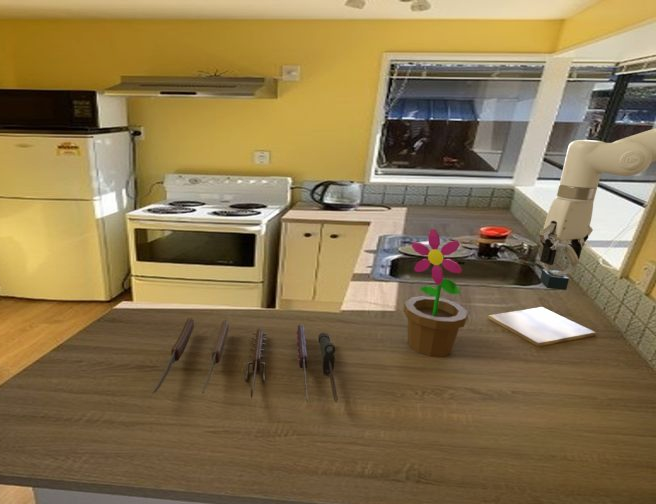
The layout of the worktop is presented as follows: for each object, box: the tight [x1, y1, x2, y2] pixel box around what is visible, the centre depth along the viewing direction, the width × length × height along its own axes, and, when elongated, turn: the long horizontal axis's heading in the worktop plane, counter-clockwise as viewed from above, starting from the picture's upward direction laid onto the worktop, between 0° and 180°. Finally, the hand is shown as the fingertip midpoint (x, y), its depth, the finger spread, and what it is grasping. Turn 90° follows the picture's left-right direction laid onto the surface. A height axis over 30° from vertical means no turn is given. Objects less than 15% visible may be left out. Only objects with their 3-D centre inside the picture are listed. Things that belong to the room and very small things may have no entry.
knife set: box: [151, 317, 339, 404], centre depth 90 cm, size 35×33×8 cm
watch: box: [539, 242, 580, 291], centre depth 108 cm, size 6×8×11 cm
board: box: [487, 306, 597, 347], centre depth 115 cm, size 20×16×1 cm
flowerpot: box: [403, 228, 469, 358], centre depth 100 cm, size 14×14×30 cm
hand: (559, 261), depth 108 cm, fingers closed on watch, 8 cm apart
